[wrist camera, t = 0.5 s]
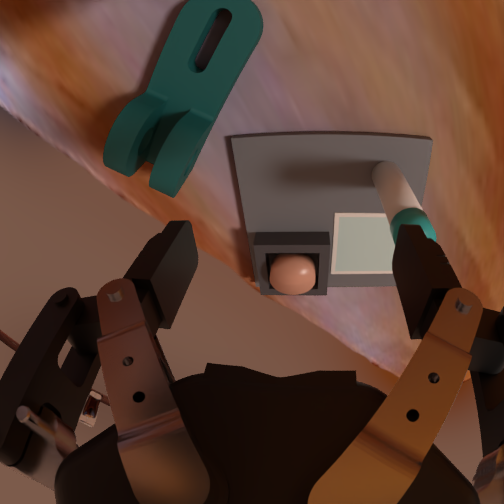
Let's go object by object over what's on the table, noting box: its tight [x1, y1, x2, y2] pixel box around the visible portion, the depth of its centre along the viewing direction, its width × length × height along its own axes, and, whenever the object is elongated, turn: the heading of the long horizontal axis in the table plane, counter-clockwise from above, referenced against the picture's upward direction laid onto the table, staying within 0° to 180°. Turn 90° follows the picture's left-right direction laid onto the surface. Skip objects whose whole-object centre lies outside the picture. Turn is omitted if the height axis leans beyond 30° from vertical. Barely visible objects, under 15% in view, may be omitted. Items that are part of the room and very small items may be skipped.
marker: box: [372, 161, 436, 245], centre depth 23 cm, size 3×3×10 cm
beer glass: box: [79, 390, 103, 427], centre depth 96 cm, size 7×7×15 cm
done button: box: [270, 253, 315, 295], centre depth 33 cm, size 5×5×2 cm
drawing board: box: [231, 132, 433, 295], centre depth 31 cm, size 20×19×3 cm
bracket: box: [103, 0, 263, 198], centre depth 21 cm, size 18×7×8 cm, turn 153°
